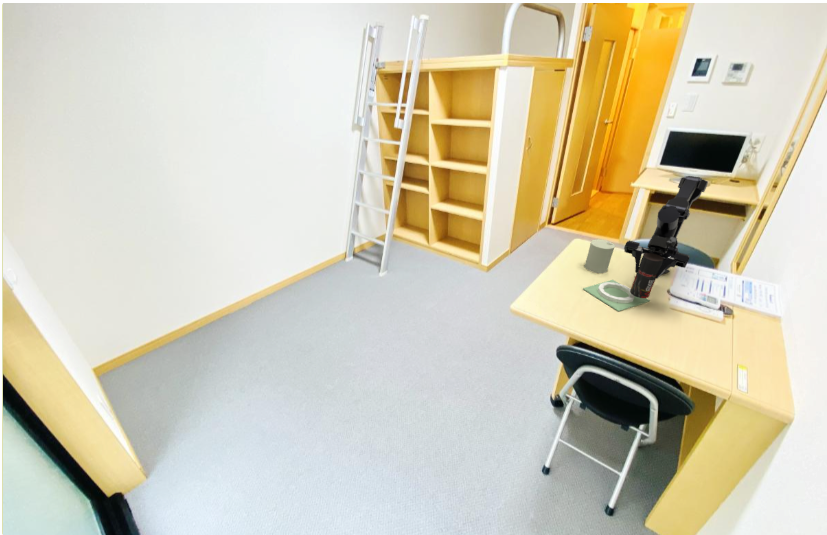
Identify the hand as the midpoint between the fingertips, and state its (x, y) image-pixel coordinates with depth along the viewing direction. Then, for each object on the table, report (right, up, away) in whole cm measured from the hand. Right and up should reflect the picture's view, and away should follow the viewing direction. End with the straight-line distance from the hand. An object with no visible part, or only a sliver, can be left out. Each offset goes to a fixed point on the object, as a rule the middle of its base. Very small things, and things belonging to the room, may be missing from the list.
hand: (645, 275), depth 119 cm
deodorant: (+1, -7, +5) cm, 9 cm away
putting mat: (-4, -8, +11) cm, 14 cm away
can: (-2, +2, +30) cm, 30 cm away
